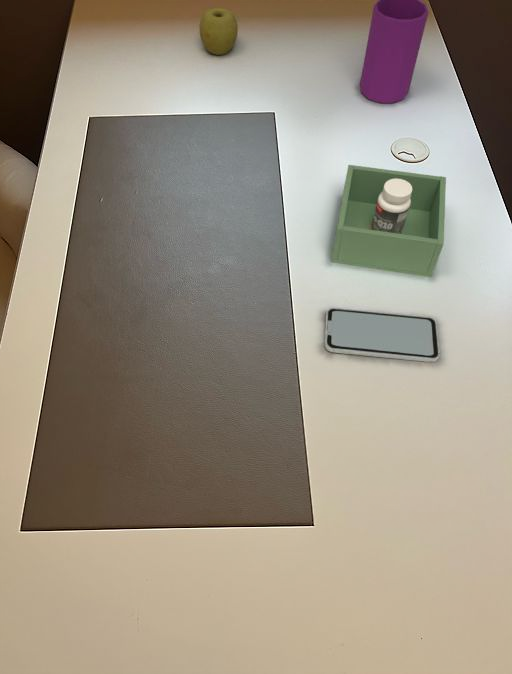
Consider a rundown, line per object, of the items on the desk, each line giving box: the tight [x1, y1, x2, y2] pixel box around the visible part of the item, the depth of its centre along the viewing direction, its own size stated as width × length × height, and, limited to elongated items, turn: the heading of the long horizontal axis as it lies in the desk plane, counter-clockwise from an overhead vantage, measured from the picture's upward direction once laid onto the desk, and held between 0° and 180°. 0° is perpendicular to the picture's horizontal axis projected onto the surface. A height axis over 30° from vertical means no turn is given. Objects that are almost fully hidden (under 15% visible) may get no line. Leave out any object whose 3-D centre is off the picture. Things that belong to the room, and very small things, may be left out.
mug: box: [359, 0, 429, 104], centre depth 114 cm, size 9×16×15 cm, turn 164°
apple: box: [198, 7, 239, 56], centre depth 124 cm, size 8×8×7 cm
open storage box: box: [330, 164, 447, 278], centre depth 93 cm, size 15×15×7 cm
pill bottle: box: [370, 179, 412, 234], centre depth 92 cm, size 5×5×8 cm
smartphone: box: [324, 307, 441, 363], centre depth 84 cm, size 7×1×15 cm
